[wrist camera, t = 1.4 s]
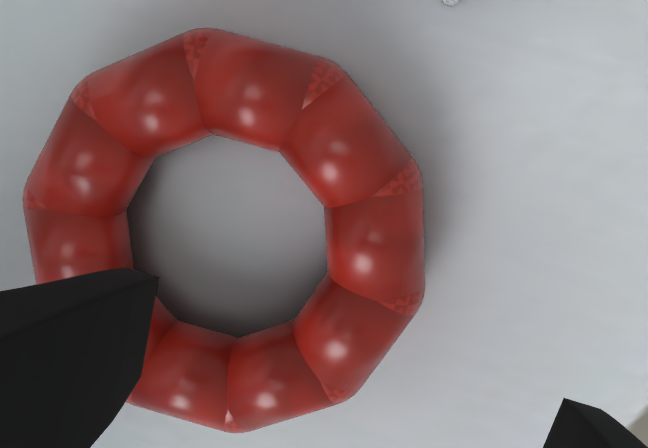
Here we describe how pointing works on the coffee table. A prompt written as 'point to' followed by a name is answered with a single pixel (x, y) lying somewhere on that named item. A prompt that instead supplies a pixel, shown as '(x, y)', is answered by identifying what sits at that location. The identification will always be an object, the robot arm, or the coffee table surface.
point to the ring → (307, 161)
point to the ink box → (450, 2)
